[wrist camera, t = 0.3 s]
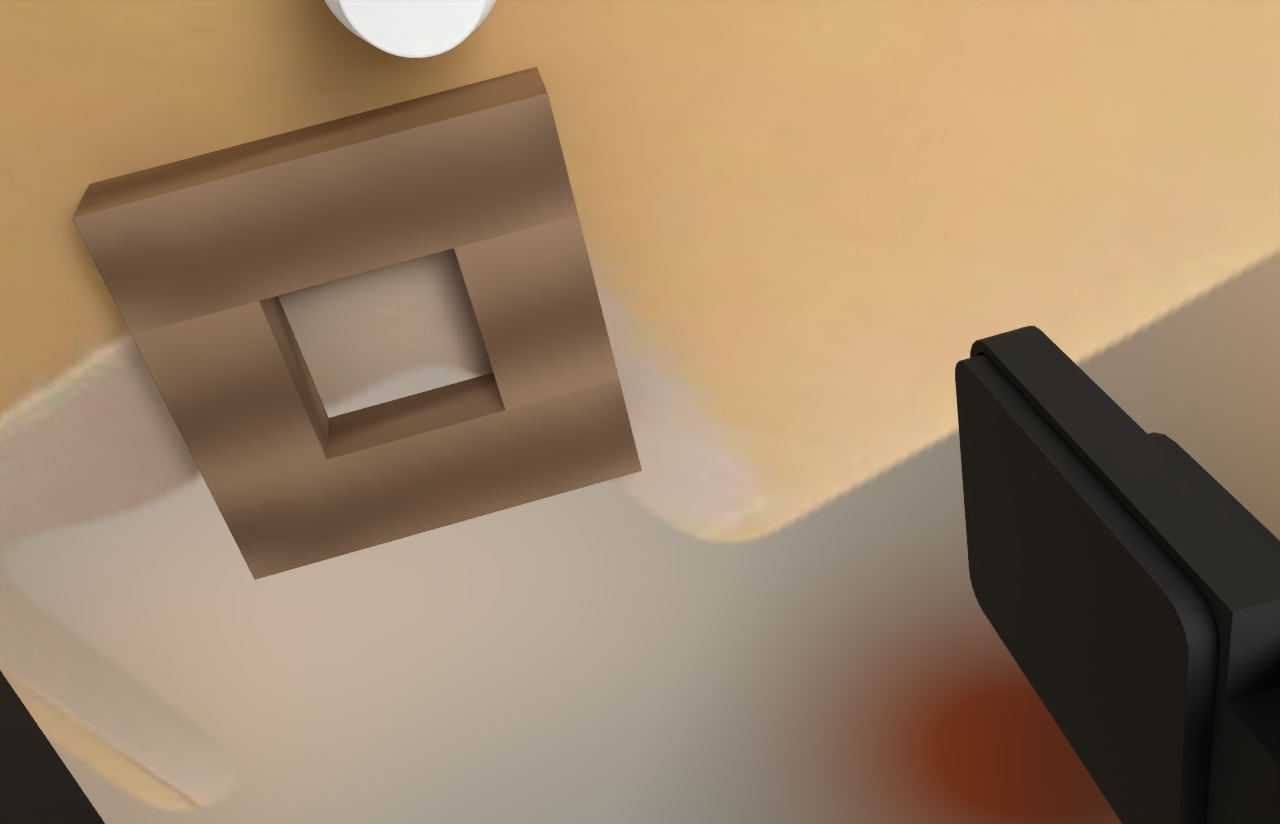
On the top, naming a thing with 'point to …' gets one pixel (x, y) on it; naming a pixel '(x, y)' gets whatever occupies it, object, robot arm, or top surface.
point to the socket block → (349, 245)
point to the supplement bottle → (412, 23)
